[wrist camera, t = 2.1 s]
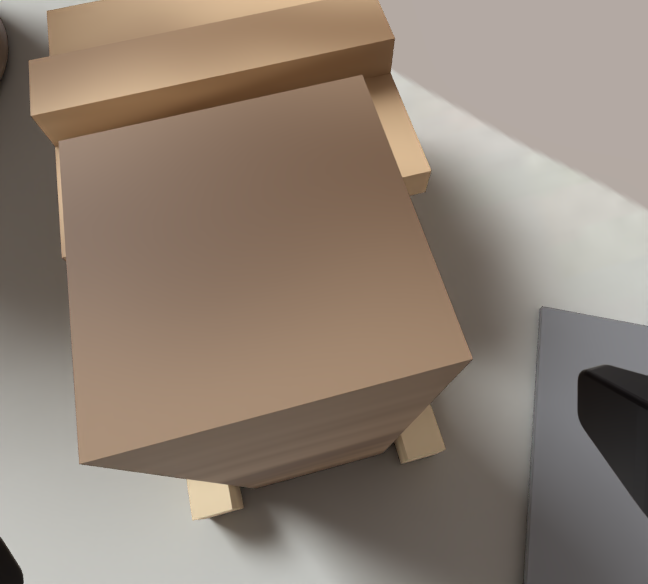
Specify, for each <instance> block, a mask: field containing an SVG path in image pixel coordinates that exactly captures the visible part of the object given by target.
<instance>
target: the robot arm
mask: <svg viewBox="0 0 648 584" xmlns="http://www.w3.org/2000/svg"><path fill="white" fill-rule="evenodd" d="M577 413H578V418H579V421H580V423H581V425H582V427H583V429H584V430H585V432H586V433H587V435H588V436H589V437H590V439H591V440H592V442H593V443H594V445H595V446H596V447H597V449H598V450H599V452H600V453H601V454H602V456H603V457H604V459H605V460H606V462H607V463H608V464H609V466H610V467H611V469H612V470H613V471H614V473H615V474H616V476H617V477H618V479H619V480H620V481H621V483H622V484H623V486H624V487H625V488H626V490H627V491H628V493H629V494H630V495H631V497H632V498H633V500H634V501H635V502H636V504H637V505H638V506H639V508H640V509H641V510H642V512H643V513H644V514H645V515H646V517H647V518H648V375H644V374H641V373H637V372H634V371H630V370H626V369H623V368H619V367H615V366H612V365H608V364H602V365H598V366H595V367H591V368H587V369H584V370H582V371H581V372H580V373H579V375H578V380H577ZM23 583H24V580H23V574H22V570H21V568H20V566H19V565H18V563H17V562H16V560H15V559H14V557H13V555H12V554H11V552H10V551H9V549H8V548H7V546H6V544H5V543H4V541H3V540H2V538H1V537H0V584H23Z"/></svg>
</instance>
